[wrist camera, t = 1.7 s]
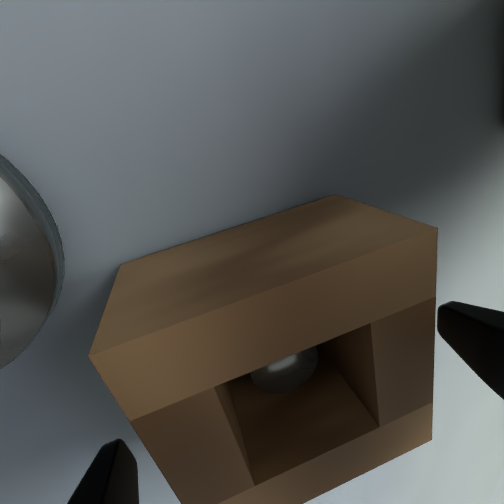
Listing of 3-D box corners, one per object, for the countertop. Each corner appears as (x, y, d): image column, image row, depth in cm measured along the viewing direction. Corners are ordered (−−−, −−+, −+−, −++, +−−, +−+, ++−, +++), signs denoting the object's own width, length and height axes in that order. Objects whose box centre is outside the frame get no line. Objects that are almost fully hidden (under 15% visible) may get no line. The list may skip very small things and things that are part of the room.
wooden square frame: (335, 194, 10) (437, 227, 6) (355, 352, 12) (432, 439, 9) (120, 264, 9) (88, 356, 5) (196, 419, 11) (210, 549, 8)
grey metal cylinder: (280, 284, 10) (312, 325, 8) (290, 328, 11) (322, 377, 9) (225, 304, 10) (243, 352, 8) (240, 348, 11) (260, 403, 8)
